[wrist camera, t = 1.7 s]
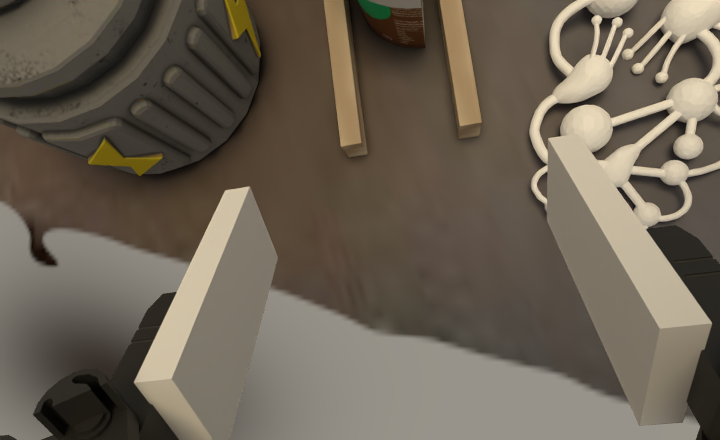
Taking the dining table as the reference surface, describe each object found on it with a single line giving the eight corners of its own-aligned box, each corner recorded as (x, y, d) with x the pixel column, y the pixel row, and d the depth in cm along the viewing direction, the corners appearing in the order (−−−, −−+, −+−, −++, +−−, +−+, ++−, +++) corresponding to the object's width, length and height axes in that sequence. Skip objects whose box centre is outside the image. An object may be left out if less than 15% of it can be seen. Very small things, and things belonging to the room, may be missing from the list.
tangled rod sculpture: (679, 282, 35) (715, 284, 31) (482, 209, 37) (491, 202, 32) (769, 29, 36) (816, -1, 32) (572, -30, 37) (592, -66, 33)
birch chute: (438, -119, 41) (437, -158, 37) (481, 135, 37) (484, 118, 34) (317, -89, 42) (306, -124, 39) (347, 158, 39) (337, 144, 35)
